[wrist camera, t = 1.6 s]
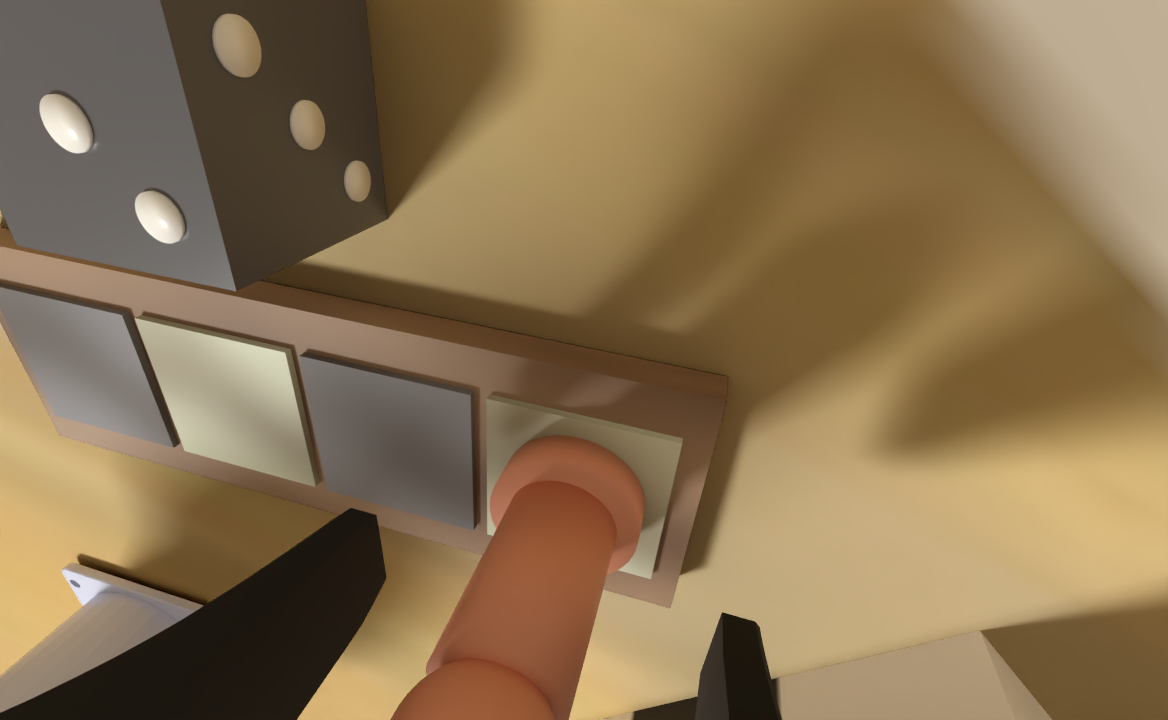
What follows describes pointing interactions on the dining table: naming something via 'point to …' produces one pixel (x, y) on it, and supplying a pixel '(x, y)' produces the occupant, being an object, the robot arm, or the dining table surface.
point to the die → (188, 132)
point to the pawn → (534, 587)
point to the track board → (351, 400)
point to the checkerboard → (896, 688)
